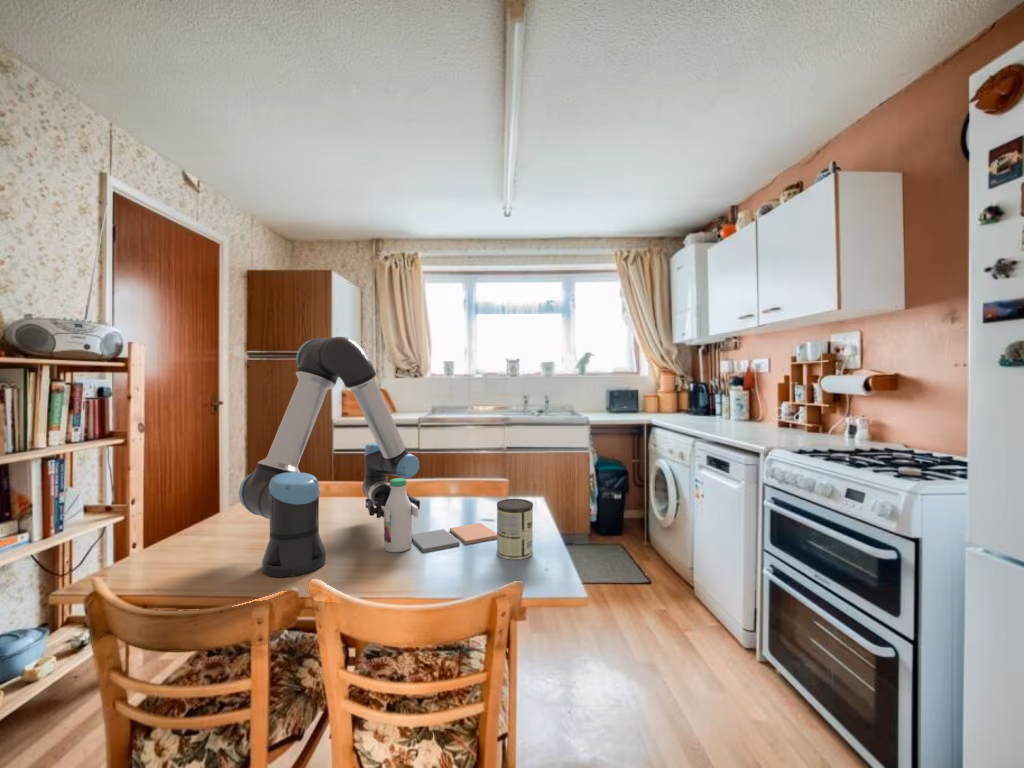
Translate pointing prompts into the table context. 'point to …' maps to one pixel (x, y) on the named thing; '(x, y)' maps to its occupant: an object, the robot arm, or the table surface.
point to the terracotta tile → (473, 533)
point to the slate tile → (434, 540)
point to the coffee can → (514, 529)
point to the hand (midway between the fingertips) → (402, 514)
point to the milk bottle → (398, 518)
